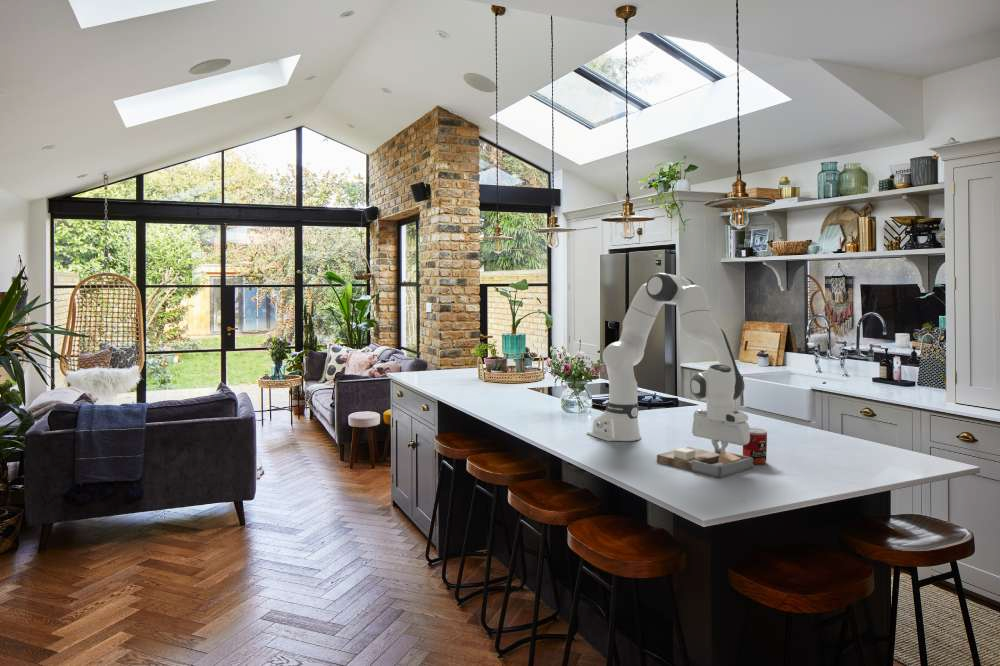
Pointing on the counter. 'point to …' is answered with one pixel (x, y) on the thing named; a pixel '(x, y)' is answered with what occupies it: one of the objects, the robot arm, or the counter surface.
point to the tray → (723, 467)
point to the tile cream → (684, 453)
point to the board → (687, 464)
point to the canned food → (756, 446)
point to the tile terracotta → (727, 458)
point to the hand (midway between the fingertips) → (719, 453)
